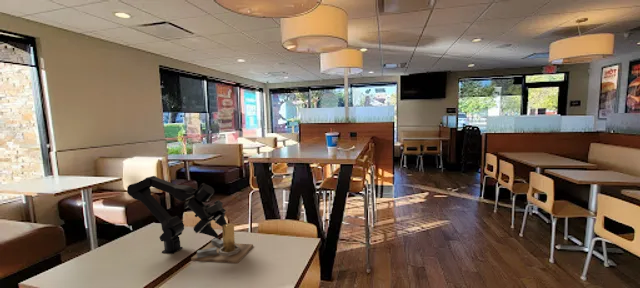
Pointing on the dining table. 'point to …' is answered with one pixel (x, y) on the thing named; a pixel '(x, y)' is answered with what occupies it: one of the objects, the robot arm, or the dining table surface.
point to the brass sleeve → (228, 237)
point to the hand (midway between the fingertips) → (223, 232)
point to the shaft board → (221, 252)
